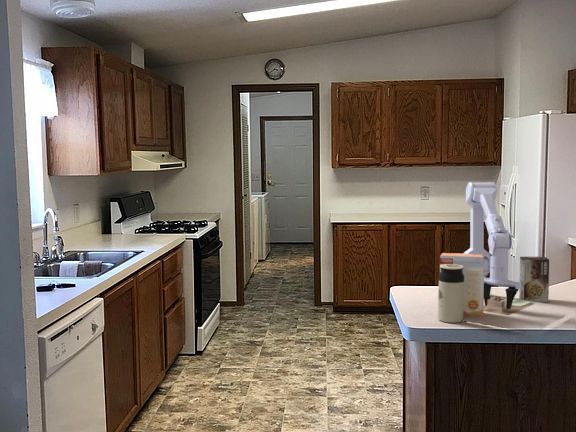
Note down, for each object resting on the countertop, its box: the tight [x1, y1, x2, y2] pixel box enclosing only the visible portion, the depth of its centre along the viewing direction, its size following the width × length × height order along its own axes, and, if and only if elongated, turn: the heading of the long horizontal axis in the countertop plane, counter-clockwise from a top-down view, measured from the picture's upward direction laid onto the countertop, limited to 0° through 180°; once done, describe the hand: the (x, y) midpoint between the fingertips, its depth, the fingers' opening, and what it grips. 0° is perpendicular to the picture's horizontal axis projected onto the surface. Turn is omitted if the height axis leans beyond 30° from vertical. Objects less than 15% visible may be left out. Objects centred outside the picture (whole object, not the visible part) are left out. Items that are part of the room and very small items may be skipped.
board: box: [483, 295, 535, 316], centre depth 217 cm, size 12×22×6 cm, turn 137°
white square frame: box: [487, 296, 508, 312], centre depth 212 cm, size 5×5×4 cm
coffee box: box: [518, 256, 550, 303], centre depth 229 cm, size 9×6×16 cm
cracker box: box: [439, 252, 485, 318], centre depth 207 cm, size 14×6×21 cm, turn 69°
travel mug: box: [437, 264, 464, 324], centre depth 201 cm, size 8×8×18 cm
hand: (497, 306), depth 212 cm, fingers open, 7 cm apart
